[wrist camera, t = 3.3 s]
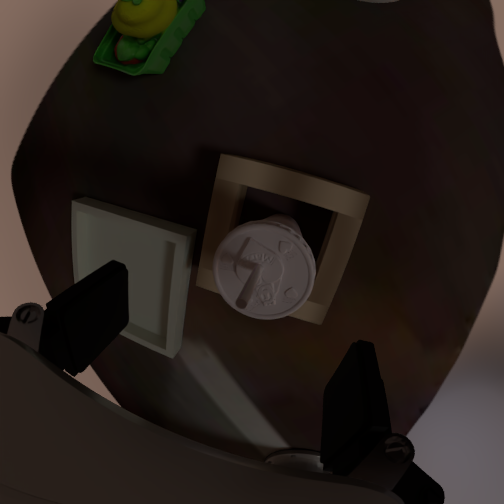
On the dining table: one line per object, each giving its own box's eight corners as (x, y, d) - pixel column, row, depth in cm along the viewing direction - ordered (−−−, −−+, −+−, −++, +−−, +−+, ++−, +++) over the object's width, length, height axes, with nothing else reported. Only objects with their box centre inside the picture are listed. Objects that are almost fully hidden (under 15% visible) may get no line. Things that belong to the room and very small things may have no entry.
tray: (197, 229, 27) (186, 236, 25) (181, 346, 33) (173, 358, 30) (85, 196, 29) (71, 200, 26) (88, 302, 35) (78, 310, 32)
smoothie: (306, 191, 23) (298, 232, 11) (321, 258, 25) (325, 358, 12) (238, 208, 25) (162, 262, 12) (257, 271, 27) (207, 368, 14)
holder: (362, 190, 22) (370, 196, 19) (320, 305, 27) (321, 324, 23) (233, 154, 24) (220, 153, 20) (208, 270, 28) (195, 285, 25)
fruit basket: (169, -8, 18) (113, -51, 8) (233, 4, 18) (188, -57, 8) (119, 70, 23) (45, 51, 12) (175, 91, 23) (99, 65, 12)
